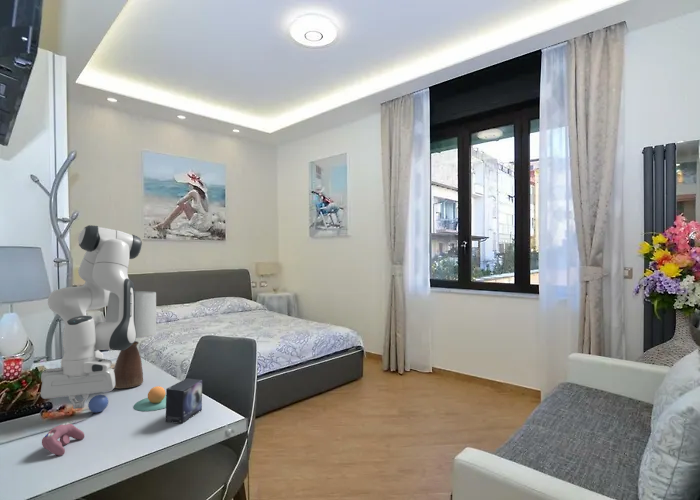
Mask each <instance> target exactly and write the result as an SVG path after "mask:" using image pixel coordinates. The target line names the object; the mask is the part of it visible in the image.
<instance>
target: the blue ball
mask: <svg viewBox="0 0 700 500" xmlns="http://www.w3.org/2000/svg"><path fill="white" fill-rule="evenodd" d="M108 405H109V399H108V396H107V395H105V394H96V395H94V396H93V397H91V398H90V399H89V401H88V403H87V407H88V409H89V411H91V412H92V413H95V414H96V413H101V412H103V411H105V410H106V409H107V407H108Z"/></svg>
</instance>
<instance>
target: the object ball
mask: <svg viewBox="0 0 700 500" xmlns="http://www.w3.org/2000/svg"><path fill="white" fill-rule="evenodd" d="M165 395H166V389H165V388H164V387H162V386H159V385H157V386H154V387H152V388H151V389H150V390H148V393H147V398H148V400H149V401H150V402H152V403H159V402H161V401H162V400H163V399H164V397H165Z"/></svg>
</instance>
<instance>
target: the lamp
mask: <svg viewBox="0 0 700 500" xmlns="http://www.w3.org/2000/svg"><path fill="white" fill-rule="evenodd" d="M106 307H107V309H106V312H105V313H106V314H105V322H117V321H118V320H119V297H118V296H117V295H116V294H115V293H113V292H110V293H109V300H108V306H106ZM135 327H136V339H141V338H150V337H154V336H156V335H157V292H156V291H143V290H142V291H140V290H136V291H135ZM138 344H139V341H137V340H135V342H134V343H133V344H132V345H131V346H130V347H129V348H127V349H126V350H124V351H120V352H119V354H118V356H117V358H116V361H115V365H114V369H113V370H114V374H115V387H114V389H128V388H129V389H130V388H135V387H138V386H141V385H143V383H144V372H143V362H142V357H141V353H140V351H139V349H138Z"/></svg>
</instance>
